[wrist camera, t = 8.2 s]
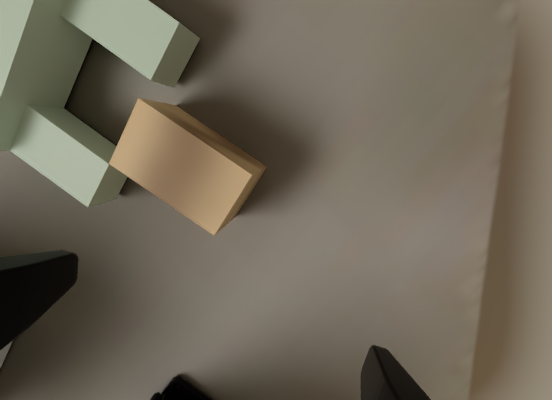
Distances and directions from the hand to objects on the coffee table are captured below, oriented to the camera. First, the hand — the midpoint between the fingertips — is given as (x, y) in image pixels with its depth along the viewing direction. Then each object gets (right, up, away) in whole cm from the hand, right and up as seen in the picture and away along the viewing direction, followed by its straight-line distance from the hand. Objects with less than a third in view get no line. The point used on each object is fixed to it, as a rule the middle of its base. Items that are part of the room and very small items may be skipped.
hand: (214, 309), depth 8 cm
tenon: (-3, +6, +11) cm, 12 cm away
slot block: (-10, +11, +10) cm, 18 cm away
